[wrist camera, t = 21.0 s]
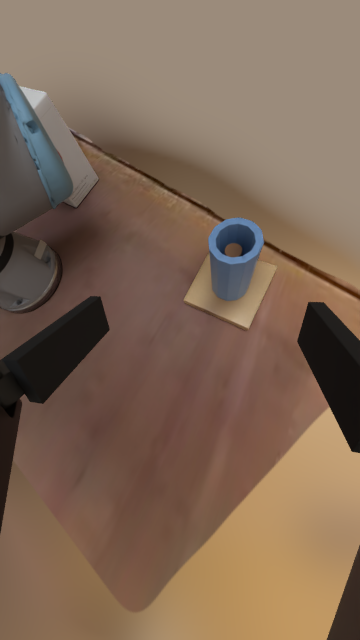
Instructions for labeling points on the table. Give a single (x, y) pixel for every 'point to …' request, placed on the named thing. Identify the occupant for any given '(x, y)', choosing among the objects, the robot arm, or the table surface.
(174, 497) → the table surface
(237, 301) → the stand
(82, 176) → the white product box
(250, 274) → the blue hollow tube
